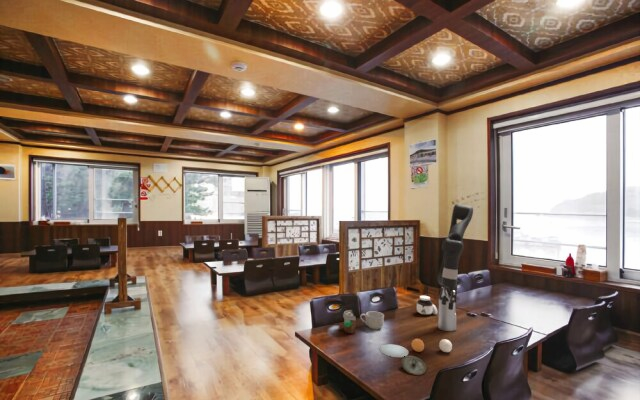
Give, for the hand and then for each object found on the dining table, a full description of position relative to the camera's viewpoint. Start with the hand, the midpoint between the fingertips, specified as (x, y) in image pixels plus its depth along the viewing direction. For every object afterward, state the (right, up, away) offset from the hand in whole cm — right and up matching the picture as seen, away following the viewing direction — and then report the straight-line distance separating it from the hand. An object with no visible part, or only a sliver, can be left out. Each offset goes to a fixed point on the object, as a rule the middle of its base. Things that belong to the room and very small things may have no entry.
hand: (446, 307), depth 169 cm
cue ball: (-5, -15, -12) cm, 20 cm away
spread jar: (+5, -20, +45) cm, 50 cm away
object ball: (-19, -15, -12) cm, 27 cm away
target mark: (-32, -18, -13) cm, 38 cm away
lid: (-27, -17, -31) cm, 45 cm away
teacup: (-37, -18, +18) cm, 45 cm away
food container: (-52, -18, +12) cm, 56 cm away
